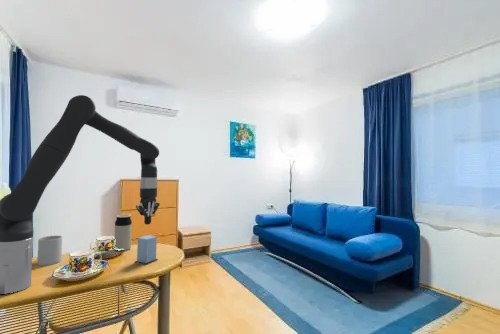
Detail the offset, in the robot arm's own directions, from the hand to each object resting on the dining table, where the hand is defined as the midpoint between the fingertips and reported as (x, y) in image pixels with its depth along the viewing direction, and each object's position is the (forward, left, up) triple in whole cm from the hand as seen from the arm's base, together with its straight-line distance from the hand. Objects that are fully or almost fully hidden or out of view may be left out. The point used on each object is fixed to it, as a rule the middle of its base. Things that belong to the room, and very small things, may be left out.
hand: (147, 224), depth 116 cm
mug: (-12, +41, -17) cm, 46 cm away
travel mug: (+12, +23, -17) cm, 31 cm away
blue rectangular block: (0, 0, -17) cm, 17 cm away
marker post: (0, 0, -17) cm, 17 cm away
